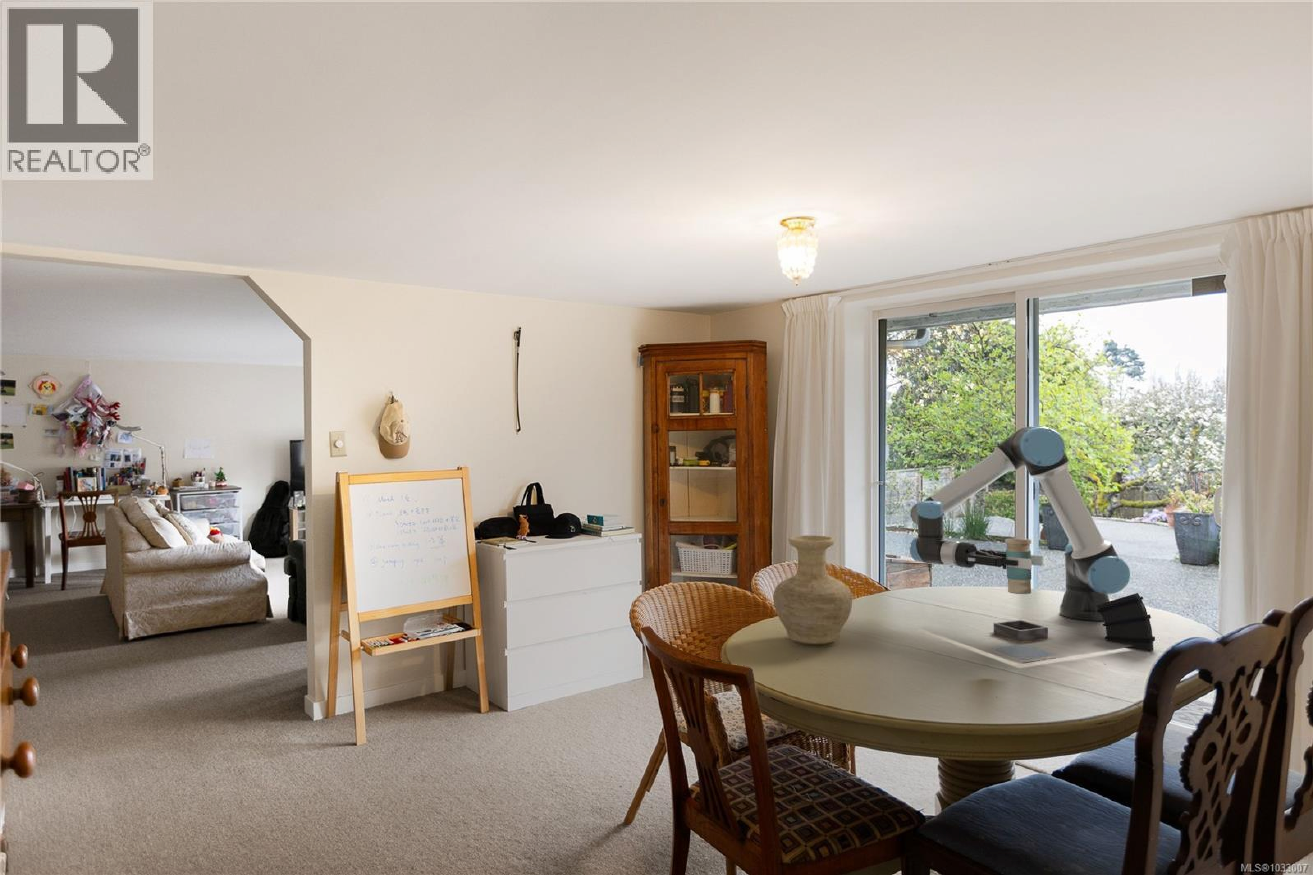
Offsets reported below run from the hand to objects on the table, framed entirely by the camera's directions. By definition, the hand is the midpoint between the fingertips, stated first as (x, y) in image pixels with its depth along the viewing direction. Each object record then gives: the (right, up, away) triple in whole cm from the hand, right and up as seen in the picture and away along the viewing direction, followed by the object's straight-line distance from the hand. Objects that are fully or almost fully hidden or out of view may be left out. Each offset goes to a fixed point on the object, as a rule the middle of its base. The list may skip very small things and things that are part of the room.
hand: (1036, 562), depth 220 cm
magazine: (+22, -22, -5) cm, 32 cm away
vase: (-62, -24, +6) cm, 67 cm away
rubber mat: (-9, -23, -12) cm, 27 cm away
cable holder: (-3, -23, +4) cm, 23 cm away
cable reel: (-3, -9, +4) cm, 10 cm away
